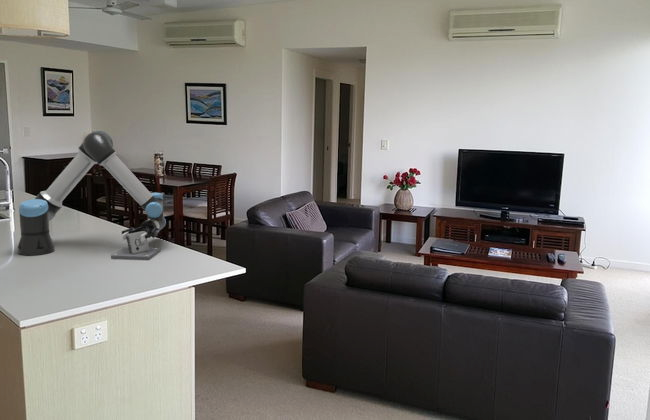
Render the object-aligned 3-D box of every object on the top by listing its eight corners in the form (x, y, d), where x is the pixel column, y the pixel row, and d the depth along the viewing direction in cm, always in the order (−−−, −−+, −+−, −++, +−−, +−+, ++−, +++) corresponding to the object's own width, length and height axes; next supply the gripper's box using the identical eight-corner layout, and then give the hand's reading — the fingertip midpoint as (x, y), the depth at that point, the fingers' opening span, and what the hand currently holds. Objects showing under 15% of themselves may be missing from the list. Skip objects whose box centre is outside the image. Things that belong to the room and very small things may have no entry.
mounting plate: (111, 258, 248) (110, 254, 247) (124, 250, 263) (124, 246, 263) (148, 260, 247) (148, 256, 247) (160, 251, 263) (160, 247, 263)
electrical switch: (133, 254, 250) (131, 234, 249) (125, 253, 253) (124, 233, 252) (150, 250, 258) (148, 230, 257) (142, 250, 261) (140, 230, 259)
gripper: (170, 236, 272) (155, 247, 249) (128, 234, 272) (109, 245, 250) (170, 221, 271) (154, 230, 248) (127, 219, 271) (108, 229, 249)
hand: (131, 238), depth 249 cm, fingers open, 8 cm apart
